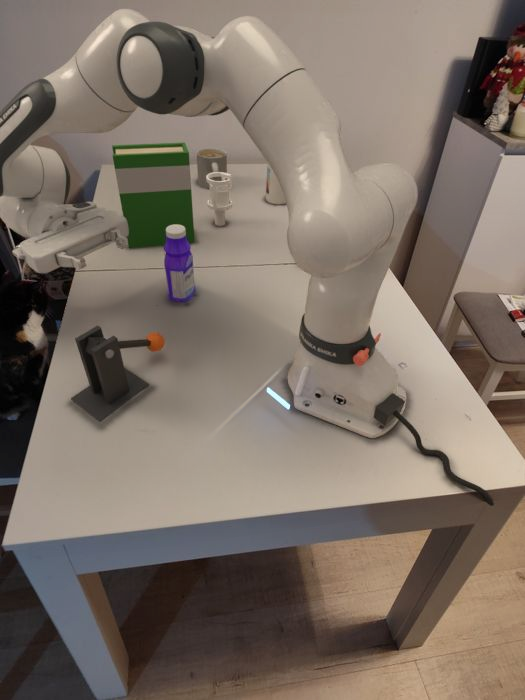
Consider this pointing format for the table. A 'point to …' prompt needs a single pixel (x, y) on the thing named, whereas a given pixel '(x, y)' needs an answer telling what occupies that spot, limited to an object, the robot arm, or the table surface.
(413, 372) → the table surface
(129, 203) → the hardback book
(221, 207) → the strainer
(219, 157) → the coffee mug
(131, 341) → the switch
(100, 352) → the dark grey lever stand
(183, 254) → the bottle
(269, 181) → the milk bottle
